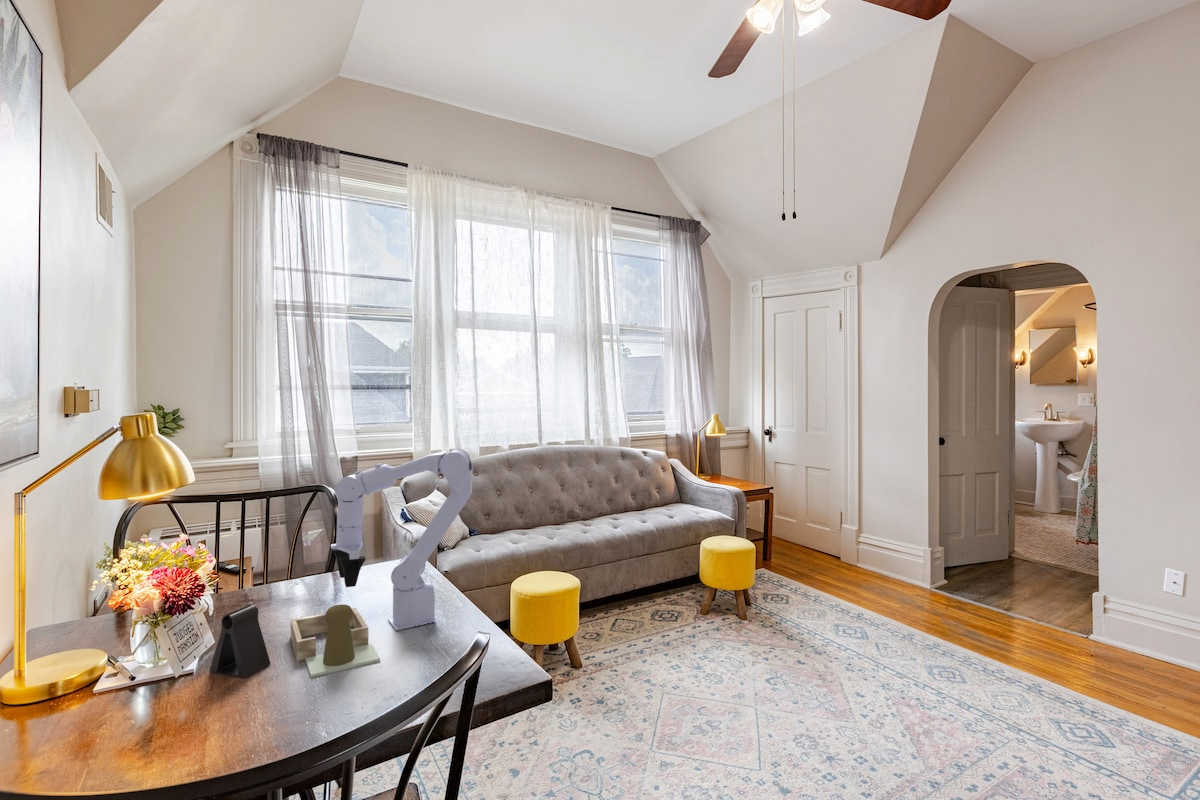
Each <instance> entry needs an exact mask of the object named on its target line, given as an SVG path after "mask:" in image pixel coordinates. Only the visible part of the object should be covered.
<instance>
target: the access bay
mask: <svg viewBox="0 0 1200 800" xmlns="http://www.w3.org/2000/svg"><path fill="white" fill-rule="evenodd" d="M351 609H352V611H353V615H352V618H351V620H350V627H351V634H352V641H353V648H354V647H359V646H363V645H368V644H369V626H368V625H367V623H366V622H365V620H364V619H363V616H362V615H361V614H360V612H359V610H358V608H357V607H353V608H351ZM325 614H326V613H321V614H317V615H311V616H310V615H309V616H305V617H300V618H295V619H294V618H293V619H290V640H291V644H292V647H293V651H294V655H295V658H296V661H297V662H300V661H306V658H309V657H313V656H317V638H316V636H314V635H318V634H324V633H327V629H328V624H327V622H326V620H325ZM308 636H313V637H308ZM303 637H306V638H303ZM307 637H308V638H307Z"/></svg>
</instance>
